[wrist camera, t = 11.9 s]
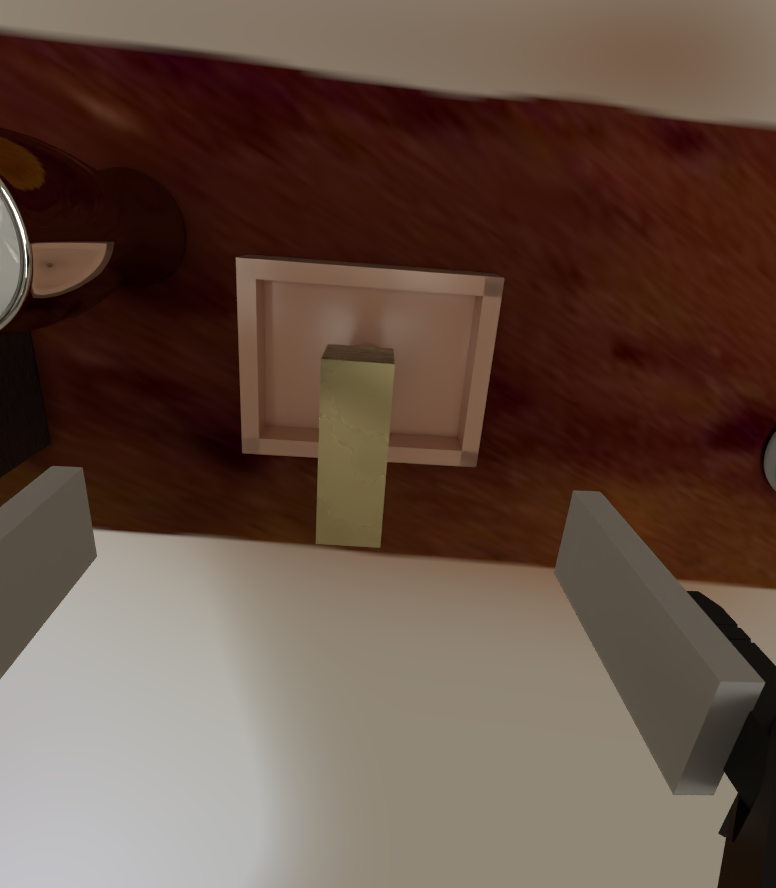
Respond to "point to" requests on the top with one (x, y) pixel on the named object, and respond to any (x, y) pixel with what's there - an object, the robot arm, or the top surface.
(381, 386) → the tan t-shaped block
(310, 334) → the pale pink tray
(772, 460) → the pill bottle
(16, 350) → the grey square block
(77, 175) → the beer glass
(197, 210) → the top surface
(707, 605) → the robot arm
